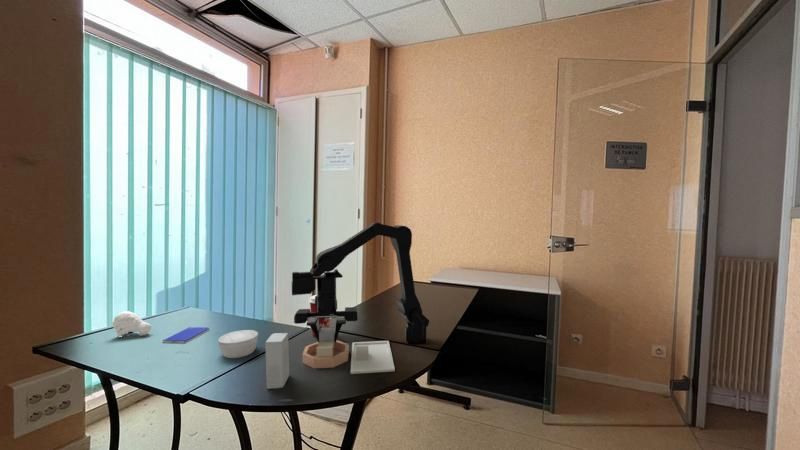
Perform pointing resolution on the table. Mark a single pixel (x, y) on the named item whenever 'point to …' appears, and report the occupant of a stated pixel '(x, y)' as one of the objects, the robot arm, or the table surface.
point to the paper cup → (322, 321)
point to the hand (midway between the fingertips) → (327, 342)
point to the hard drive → (186, 335)
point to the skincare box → (277, 360)
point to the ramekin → (238, 343)
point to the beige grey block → (362, 353)
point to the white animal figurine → (130, 324)
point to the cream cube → (325, 349)
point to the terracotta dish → (326, 362)
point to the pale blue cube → (327, 335)
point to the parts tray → (373, 358)
